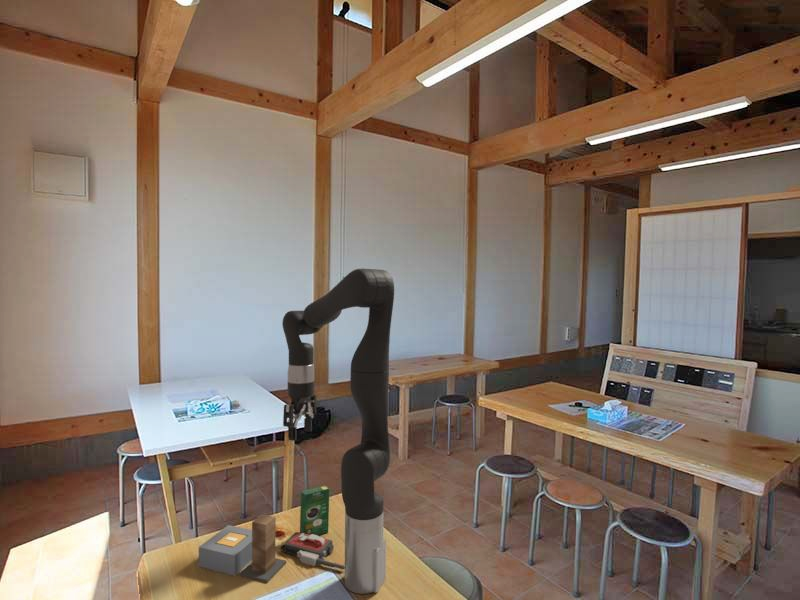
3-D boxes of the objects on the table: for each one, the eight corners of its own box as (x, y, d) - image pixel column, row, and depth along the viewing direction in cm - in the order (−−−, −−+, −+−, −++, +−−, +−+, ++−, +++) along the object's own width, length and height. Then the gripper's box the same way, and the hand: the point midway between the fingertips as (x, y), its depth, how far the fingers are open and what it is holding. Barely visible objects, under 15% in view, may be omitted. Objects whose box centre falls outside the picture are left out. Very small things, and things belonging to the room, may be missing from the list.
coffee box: (325, 527, 129) (325, 483, 129) (329, 532, 126) (330, 487, 126) (299, 536, 124) (299, 490, 124) (303, 541, 122) (303, 494, 121)
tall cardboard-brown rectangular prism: (275, 563, 111) (275, 516, 110) (265, 573, 107) (265, 524, 107) (261, 560, 112) (262, 514, 112) (251, 569, 108) (252, 521, 108)
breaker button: (246, 550, 115) (246, 535, 115) (233, 562, 110) (233, 546, 110) (230, 546, 117) (230, 531, 117) (216, 558, 112) (216, 542, 112)
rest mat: (286, 563, 112) (286, 560, 112) (267, 582, 104) (267, 580, 104) (259, 556, 114) (259, 554, 114) (239, 575, 107) (239, 573, 107)
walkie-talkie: (275, 557, 115) (342, 576, 108) (275, 540, 115) (342, 558, 108) (294, 539, 123) (358, 556, 116) (294, 524, 123) (358, 539, 116)
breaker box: (262, 550, 117) (262, 532, 117) (234, 575, 107) (235, 555, 107) (228, 542, 121) (228, 524, 120) (198, 566, 110) (198, 546, 110)
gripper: (299, 385, 118) (298, 445, 118) (324, 376, 131) (323, 429, 132) (275, 383, 120) (275, 441, 120) (302, 374, 134) (302, 426, 134)
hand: (300, 435), depth 126 cm, fingers open, 8 cm apart
